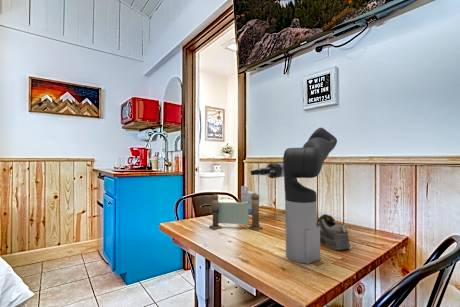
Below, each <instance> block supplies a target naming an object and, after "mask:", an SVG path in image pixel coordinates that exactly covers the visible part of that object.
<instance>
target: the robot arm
mask: <svg viewBox="0 0 460 307" xmlns="http://www.w3.org/2000/svg"><path fill="white" fill-rule="evenodd" d="M337 144H338V140H337V138H336V137H335V136H334V135H333V134H332V133H330V132H329V131H327V129H325V128H324V127H318V128H317V129H315V130H314V131H313V133H312V134H311V135H310V136H309V138H308V139H307V141H306V142H305V143H304V144H303V146H302V147H289V148H286V149H285V150H284V153H283V156H282V158H283V159H282V162H277V163H276V162H275V163H274V162H273V163H269V164H267V165H266V167H261V168H257V169H253V170H250V175H251V176H267V177H268V178H270V179H276V178H277V179H279V178H283V180H284V182H283V183H284V196H285V197H284V200H285V201H284V203H285V204H284V206H285V210H284V211H285V213H284V214H285V216H284V217H285V257H286V258H287V259H288V260H290V261H293V262H297V263H303V264H306V265H308V264H312V263H314V262H318V261H319V260H321V241H320V227H318V226H317V222H318V221H317V220H318V218H317V216H318V213H317V211H318V208H317V207H318V206H317V205H318V204H317V203H318V202H317V200H318V197H317V192H316V191H315V190H314V189H311V188H308V187H306V186H304V185H303V184H301V183H300V182H299V181H298V179H302V178H303V179H312V178H316V177H318V176H319V175H320V173H321V170H322V167H323V164H324V162H325V161H326V160H327V158H328V156H329V155H330V153H331V152H332V151H333V150H334V149H335V147H336V146H337Z"/></svg>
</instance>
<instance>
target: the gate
mask: <svg viewBox="0 0 460 307" xmlns="http://www.w3.org/2000/svg"><path fill="white" fill-rule="evenodd" d="M218 206H219V213H218V225H219V224H231V225H232V224H234V225H243V226H244V227H249V215H248V202H244V203H241V202H232V201H231V202H230V201H228V202H227V201H220V200H218Z"/></svg>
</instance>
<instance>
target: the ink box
mask: <svg viewBox="0 0 460 307" xmlns="http://www.w3.org/2000/svg"><path fill="white" fill-rule="evenodd" d="M240 190H241V191H240V200H241V202H240V203H244V202H248V216H250V215H251V216H252V199H251V196H252V195H253V194H255V193H256V194H257V192H255V191H251V190H249V186H245V185H241V186H240Z"/></svg>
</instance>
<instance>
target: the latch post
mask: <svg viewBox="0 0 460 307" xmlns="http://www.w3.org/2000/svg"><path fill="white" fill-rule="evenodd" d="M211 199H212V206H211V213H212V225H209V226H208V227H209V229H211V230H213V231H215V230H219V229H220V230H221V229H222V226H221V225H219V224H218V213H219V206H218V201H219V195H218V194H217V193H215V194H212V196H211Z"/></svg>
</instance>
